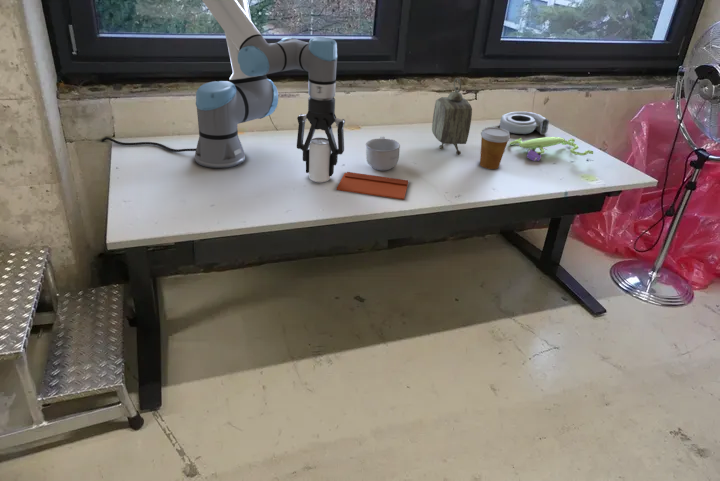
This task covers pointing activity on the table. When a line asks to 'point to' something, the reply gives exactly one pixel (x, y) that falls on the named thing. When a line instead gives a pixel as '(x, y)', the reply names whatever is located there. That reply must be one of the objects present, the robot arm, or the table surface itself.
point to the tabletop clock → (452, 119)
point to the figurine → (546, 142)
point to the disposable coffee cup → (493, 146)
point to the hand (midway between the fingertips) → (319, 172)
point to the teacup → (382, 153)
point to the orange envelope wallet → (373, 185)
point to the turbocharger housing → (524, 122)
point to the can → (319, 160)
